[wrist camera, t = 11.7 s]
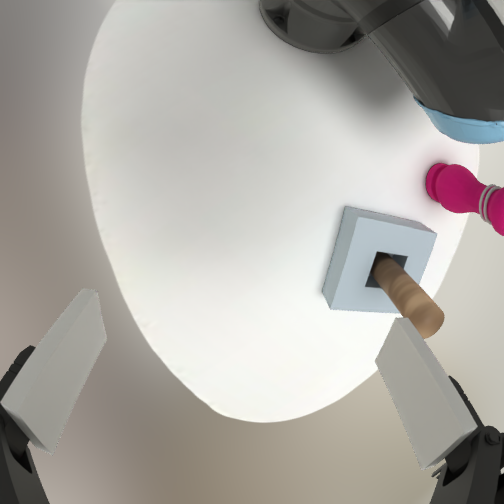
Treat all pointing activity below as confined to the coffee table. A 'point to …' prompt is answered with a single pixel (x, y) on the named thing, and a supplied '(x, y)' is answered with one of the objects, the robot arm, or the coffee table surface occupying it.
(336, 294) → the bore block
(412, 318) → the dowel
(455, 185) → the pepper mill
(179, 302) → the coffee table surface
